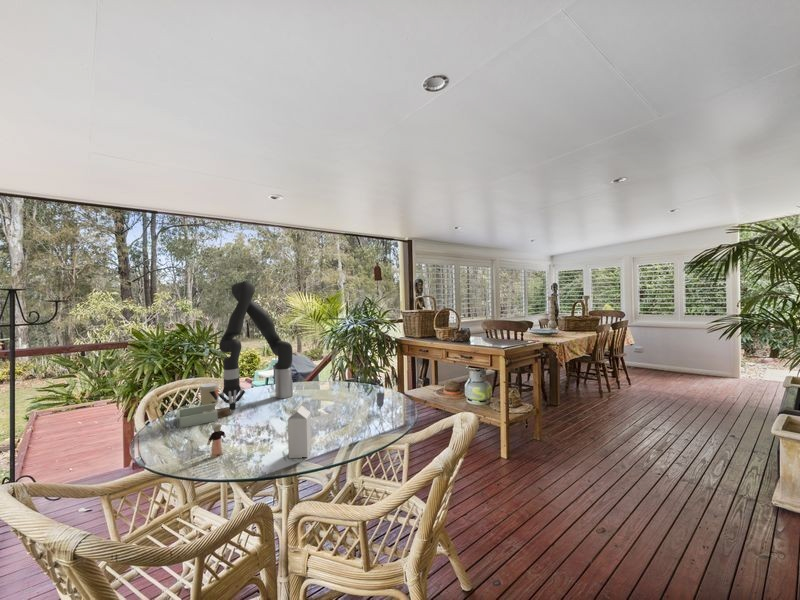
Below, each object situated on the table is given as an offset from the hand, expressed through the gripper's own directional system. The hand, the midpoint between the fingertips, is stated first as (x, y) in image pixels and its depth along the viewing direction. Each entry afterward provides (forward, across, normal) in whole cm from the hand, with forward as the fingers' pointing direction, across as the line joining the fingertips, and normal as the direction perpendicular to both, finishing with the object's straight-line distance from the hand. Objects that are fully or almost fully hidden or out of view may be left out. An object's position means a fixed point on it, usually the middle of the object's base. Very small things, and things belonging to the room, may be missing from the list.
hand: (232, 409), depth 185 cm
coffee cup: (+2, +9, -20) cm, 22 cm away
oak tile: (+2, +10, 0) cm, 10 cm away
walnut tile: (+2, +4, -1) cm, 5 cm away
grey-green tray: (+2, +16, 0) cm, 16 cm away
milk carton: (+2, -15, +67) cm, 69 cm away
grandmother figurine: (+2, +12, +49) cm, 50 cm away
